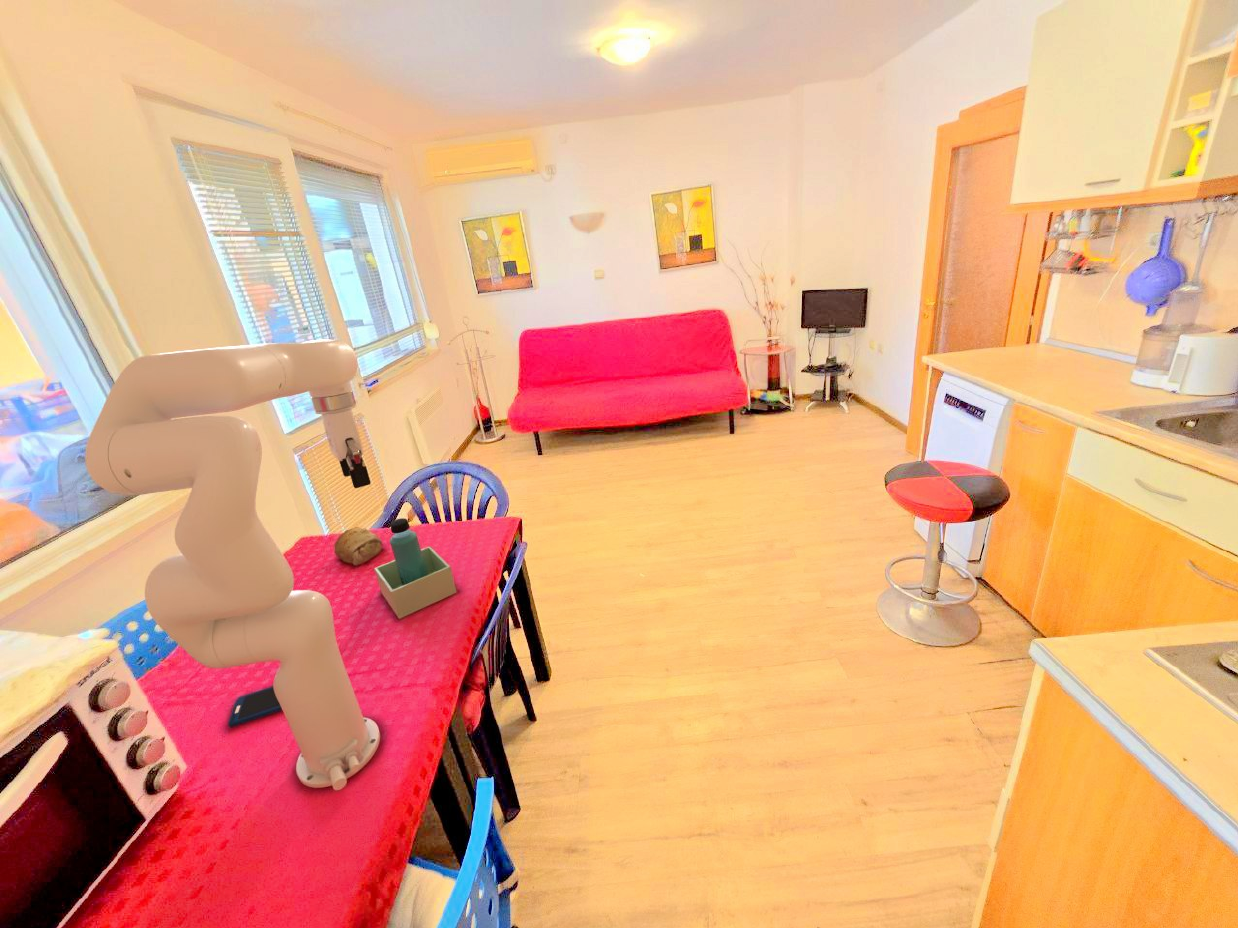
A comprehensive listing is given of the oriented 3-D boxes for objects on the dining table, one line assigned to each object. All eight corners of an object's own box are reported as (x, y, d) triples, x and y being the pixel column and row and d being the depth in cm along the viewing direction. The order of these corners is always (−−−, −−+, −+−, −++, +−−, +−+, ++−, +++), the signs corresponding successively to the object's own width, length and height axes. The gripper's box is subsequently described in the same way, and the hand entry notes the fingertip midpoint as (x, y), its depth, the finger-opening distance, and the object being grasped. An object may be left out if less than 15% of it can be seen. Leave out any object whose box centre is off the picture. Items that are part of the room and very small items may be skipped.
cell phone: (237, 700, 98) (236, 697, 98) (317, 674, 103) (316, 671, 103) (227, 728, 92) (226, 725, 91) (313, 699, 97) (312, 696, 96)
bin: (456, 592, 126) (450, 566, 123) (399, 619, 118) (391, 591, 115) (436, 570, 136) (429, 546, 134) (381, 593, 128) (374, 568, 125)
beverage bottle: (437, 587, 128) (419, 517, 120) (415, 602, 123) (394, 530, 115) (421, 580, 131) (402, 512, 124) (398, 594, 126) (378, 524, 119)
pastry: (344, 546, 153) (336, 523, 150) (387, 539, 156) (380, 516, 153) (330, 571, 140) (322, 546, 137) (378, 562, 143) (370, 537, 140)
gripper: (306, 400, 106) (330, 475, 112) (321, 413, 93) (347, 496, 99) (345, 393, 111) (365, 466, 117) (364, 404, 98) (386, 485, 104)
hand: (357, 480), depth 108 cm, fingers open, 9 cm apart
